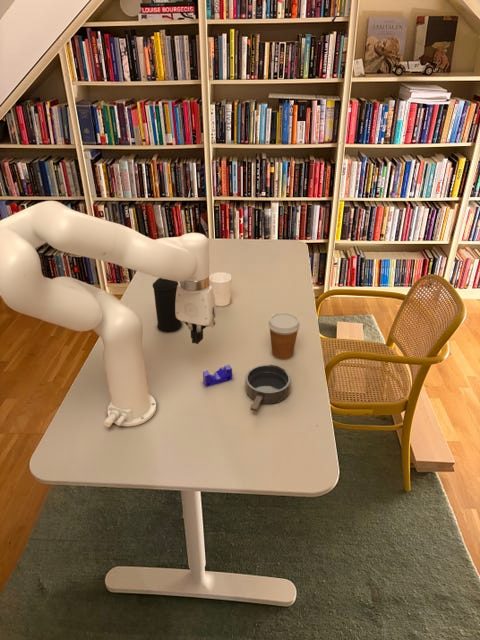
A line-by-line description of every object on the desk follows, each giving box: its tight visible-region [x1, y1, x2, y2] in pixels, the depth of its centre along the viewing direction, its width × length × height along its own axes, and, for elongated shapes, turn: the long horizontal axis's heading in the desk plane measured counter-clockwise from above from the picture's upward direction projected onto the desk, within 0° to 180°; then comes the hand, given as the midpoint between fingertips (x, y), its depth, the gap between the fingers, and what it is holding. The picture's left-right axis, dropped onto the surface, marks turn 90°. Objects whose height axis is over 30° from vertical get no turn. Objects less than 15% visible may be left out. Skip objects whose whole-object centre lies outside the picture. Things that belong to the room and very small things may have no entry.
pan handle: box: [250, 394, 264, 412], centre depth 125 cm, size 6×2×1 cm, turn 159°
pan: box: [245, 364, 292, 405], centre depth 132 cm, size 12×12×4 cm
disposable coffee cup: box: [267, 312, 301, 360], centre depth 145 cm, size 10×10×12 cm
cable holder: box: [202, 364, 233, 388], centre depth 136 cm, size 8×4×4 cm, turn 114°
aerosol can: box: [152, 278, 183, 333], centre depth 156 cm, size 8×8×20 cm
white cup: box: [209, 272, 232, 307], centre depth 173 cm, size 8×8×10 cm
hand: (197, 341), depth 133 cm, fingers closed
